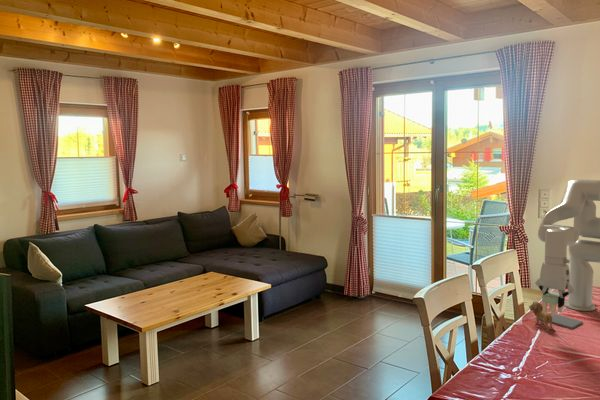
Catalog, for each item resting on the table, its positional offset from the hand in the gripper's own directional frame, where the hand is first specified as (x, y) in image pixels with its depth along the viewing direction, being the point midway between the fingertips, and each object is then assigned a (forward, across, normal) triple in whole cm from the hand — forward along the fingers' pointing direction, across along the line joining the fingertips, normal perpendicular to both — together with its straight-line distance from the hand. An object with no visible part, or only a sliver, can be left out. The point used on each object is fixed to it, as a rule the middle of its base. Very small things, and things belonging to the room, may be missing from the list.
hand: (553, 304), depth 191 cm
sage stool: (+3, 0, +1) cm, 3 cm away
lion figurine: (+13, +7, -6) cm, 16 cm away
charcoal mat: (+13, +5, -17) cm, 22 cm away
